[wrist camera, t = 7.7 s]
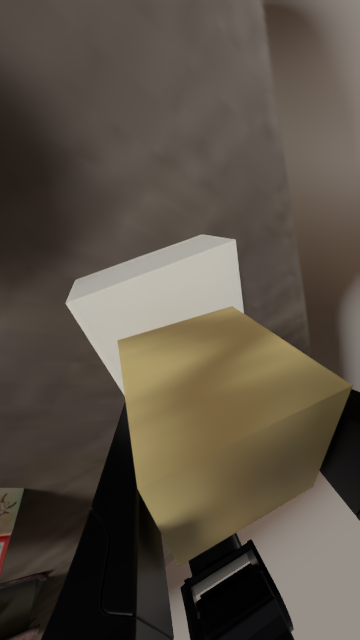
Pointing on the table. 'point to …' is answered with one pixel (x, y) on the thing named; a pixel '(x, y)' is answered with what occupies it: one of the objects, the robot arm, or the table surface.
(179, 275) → the ivory block
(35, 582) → the diary
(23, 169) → the table surface
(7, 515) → the stack of blocks
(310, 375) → the mustard cube
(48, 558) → the table surface
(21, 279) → the table surface
